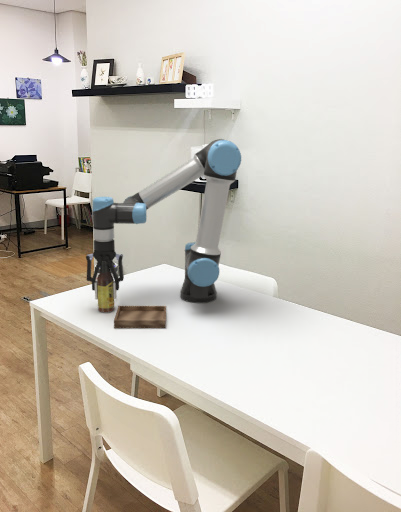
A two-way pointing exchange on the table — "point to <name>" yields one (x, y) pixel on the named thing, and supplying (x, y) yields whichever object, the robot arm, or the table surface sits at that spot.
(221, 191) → the robot arm
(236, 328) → the table surface
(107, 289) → the sauce bottle
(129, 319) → the tray
